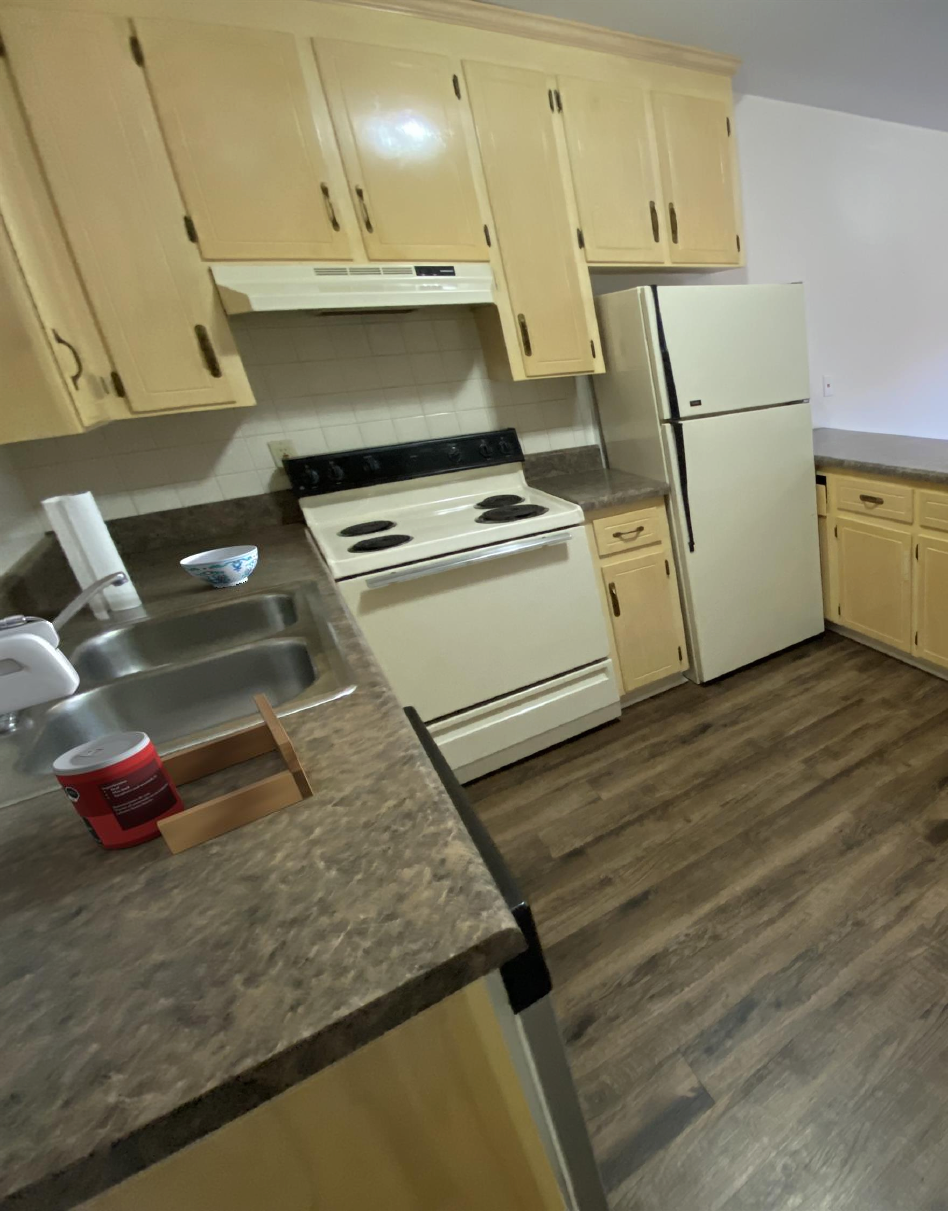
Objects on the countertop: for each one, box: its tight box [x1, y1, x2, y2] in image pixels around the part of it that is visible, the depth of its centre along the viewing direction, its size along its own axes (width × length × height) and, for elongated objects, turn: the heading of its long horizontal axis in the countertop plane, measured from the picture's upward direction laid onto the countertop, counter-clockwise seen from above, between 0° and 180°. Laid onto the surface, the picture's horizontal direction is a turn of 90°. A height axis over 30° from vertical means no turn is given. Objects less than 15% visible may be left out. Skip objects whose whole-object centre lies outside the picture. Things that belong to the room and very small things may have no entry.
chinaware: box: [179, 545, 259, 589], centre depth 166 cm, size 15×15×8 cm
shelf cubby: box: [157, 693, 315, 856], centre depth 82 cm, size 13×18×8 cm
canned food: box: [50, 731, 186, 850], centre depth 75 cm, size 8×8×11 cm
